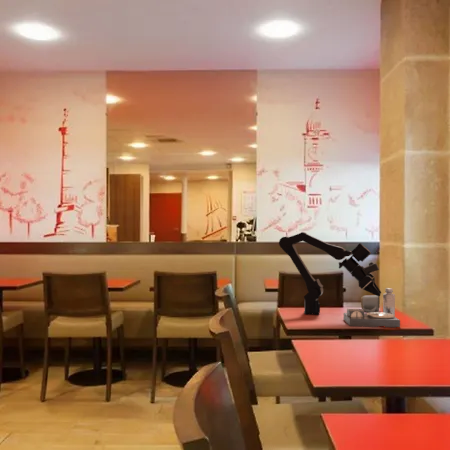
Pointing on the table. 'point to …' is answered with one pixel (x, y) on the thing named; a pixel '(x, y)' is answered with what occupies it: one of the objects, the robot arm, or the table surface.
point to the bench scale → (370, 319)
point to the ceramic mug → (370, 303)
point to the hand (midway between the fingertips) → (380, 294)
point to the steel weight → (389, 301)
